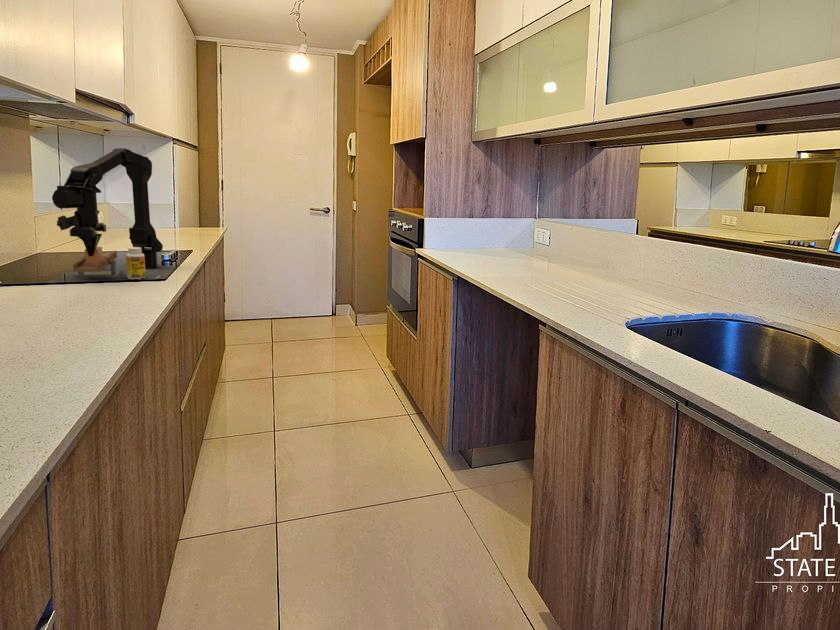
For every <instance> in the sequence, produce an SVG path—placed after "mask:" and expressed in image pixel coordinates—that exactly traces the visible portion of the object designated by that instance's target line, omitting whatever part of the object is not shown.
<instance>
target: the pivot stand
mask: <svg viewBox="0 0 840 630" xmlns="http://www.w3.org/2000/svg"><path fill="white" fill-rule="evenodd" d="M79 260H80V259H79ZM79 260H77V261H79ZM109 267H110V270H103V271H102V272H75V274H73V278H74V279H76V278H77V279H78V278H79V279H110V278H111V279H115V278H117V276H119V275H121V270H117V261H116V260H114V261H110V264H109Z"/></svg>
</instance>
